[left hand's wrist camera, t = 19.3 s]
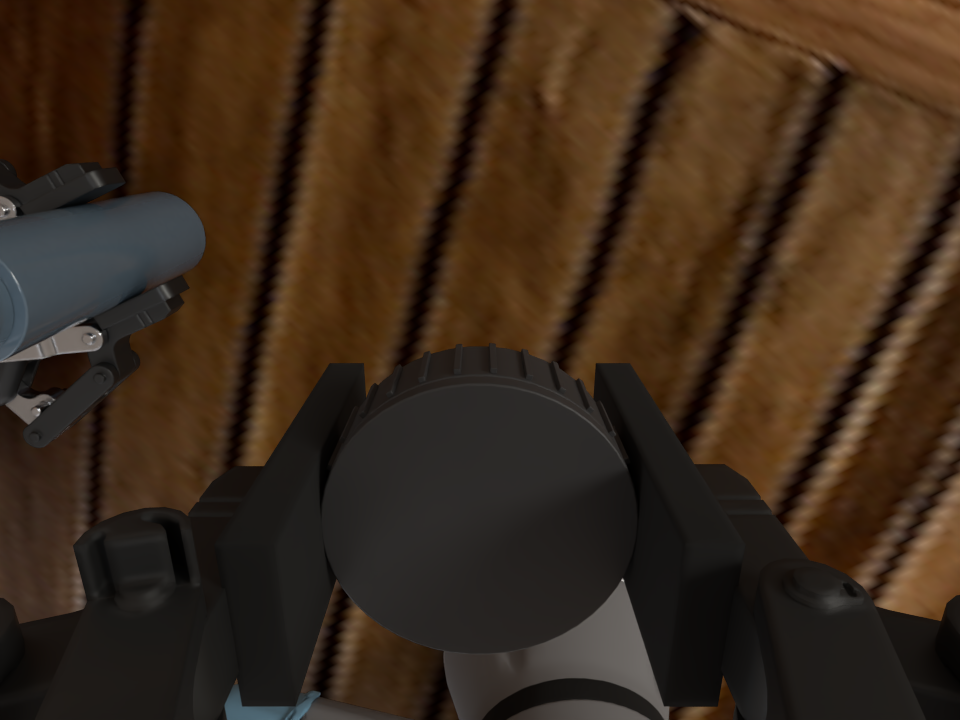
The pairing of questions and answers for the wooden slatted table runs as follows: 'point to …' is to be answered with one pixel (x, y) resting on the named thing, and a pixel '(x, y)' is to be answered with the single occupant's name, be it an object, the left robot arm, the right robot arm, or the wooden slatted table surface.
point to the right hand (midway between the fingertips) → (144, 232)
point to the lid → (479, 502)
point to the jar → (89, 261)
